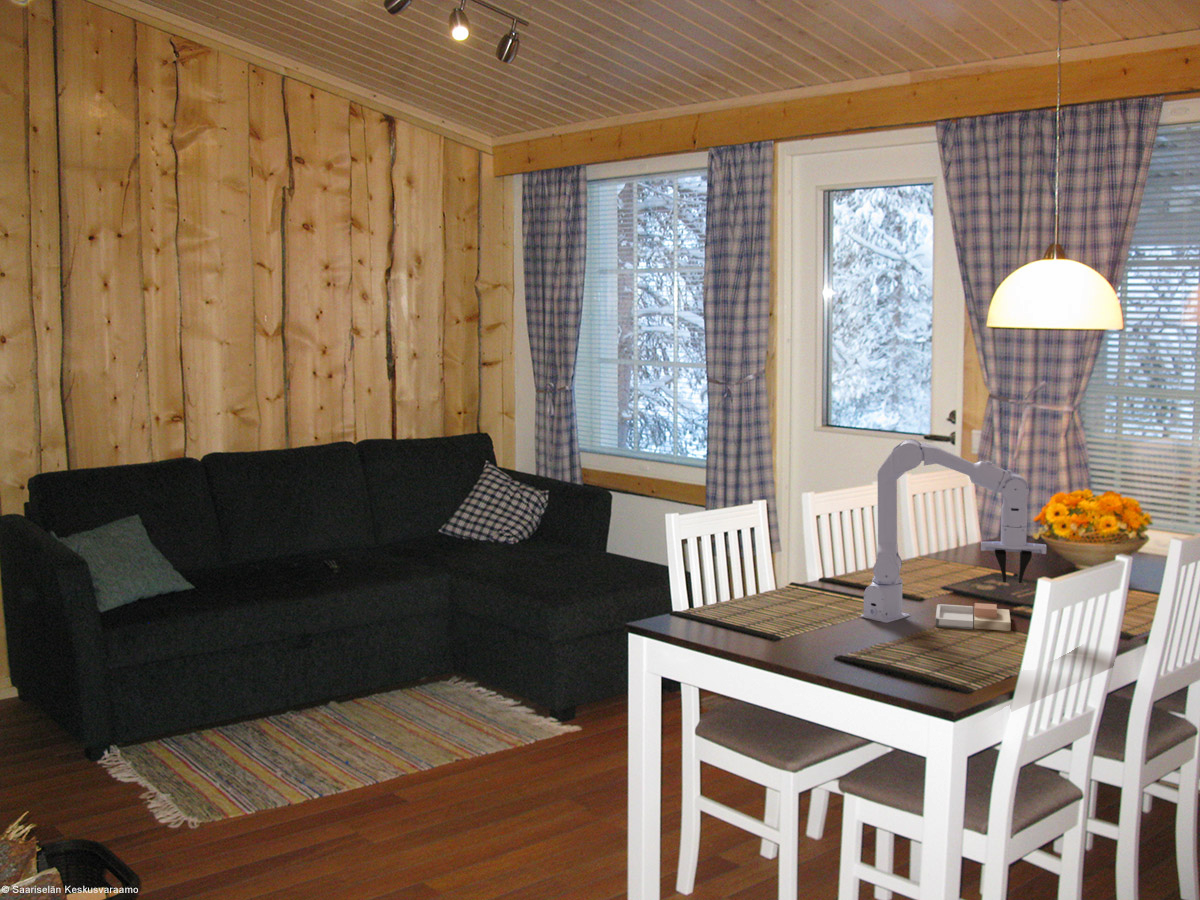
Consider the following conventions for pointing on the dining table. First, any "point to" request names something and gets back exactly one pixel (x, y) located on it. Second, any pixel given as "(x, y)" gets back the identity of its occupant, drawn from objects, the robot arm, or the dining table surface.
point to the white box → (994, 621)
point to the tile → (985, 610)
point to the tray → (954, 616)
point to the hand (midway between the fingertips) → (1012, 581)
